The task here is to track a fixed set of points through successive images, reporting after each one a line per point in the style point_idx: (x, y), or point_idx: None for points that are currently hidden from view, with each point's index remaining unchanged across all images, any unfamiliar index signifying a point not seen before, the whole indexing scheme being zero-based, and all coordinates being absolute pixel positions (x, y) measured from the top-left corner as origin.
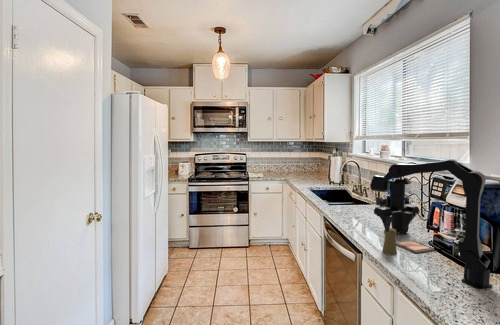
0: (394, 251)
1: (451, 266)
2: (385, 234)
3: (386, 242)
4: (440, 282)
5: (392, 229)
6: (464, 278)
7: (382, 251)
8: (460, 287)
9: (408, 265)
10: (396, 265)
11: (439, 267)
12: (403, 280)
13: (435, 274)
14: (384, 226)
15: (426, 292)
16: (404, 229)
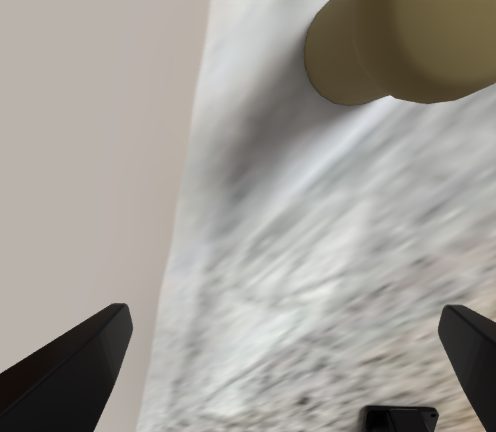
0: (357, 103)
1: None
2: (353, 10)
3: (332, 48)
4: (283, 389)
5: (476, 43)
6: (390, 410)
7: (314, 18)
8: (316, 423)
9: (295, 254)
10: (233, 236)
11: (422, 311)
12: (157, 345)
13: (329, 348)
14: (44, 356)
15: (176, 412)
16: (439, 325)
